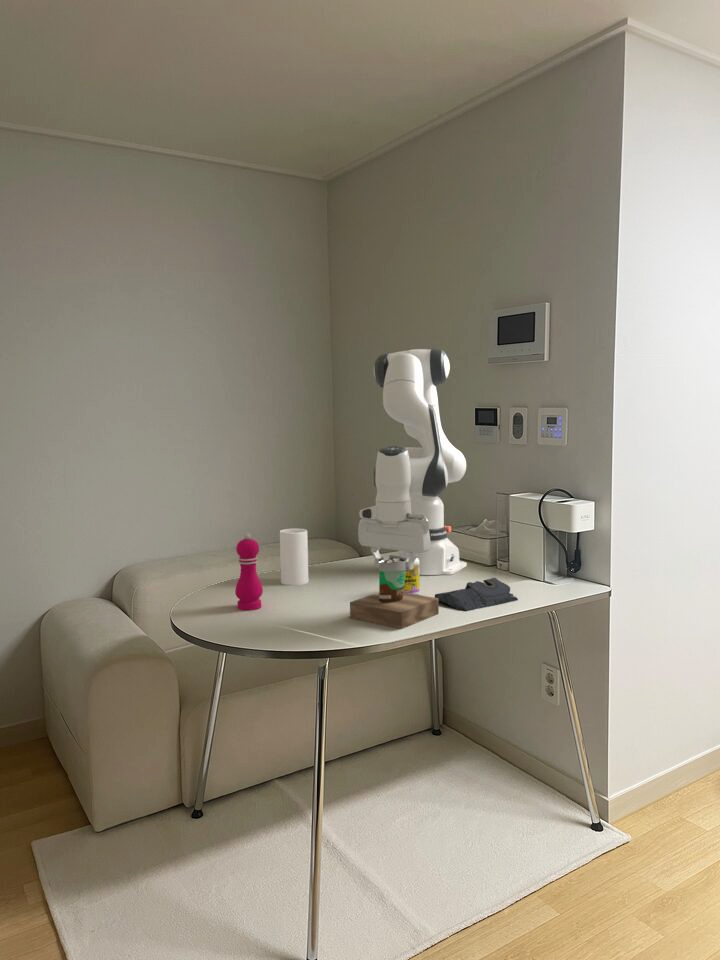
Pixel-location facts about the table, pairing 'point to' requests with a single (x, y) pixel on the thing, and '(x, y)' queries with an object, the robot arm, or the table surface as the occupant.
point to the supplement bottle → (411, 576)
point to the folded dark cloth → (478, 595)
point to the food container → (392, 579)
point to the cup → (294, 556)
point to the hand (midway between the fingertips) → (394, 566)
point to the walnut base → (395, 610)
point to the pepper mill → (248, 575)
